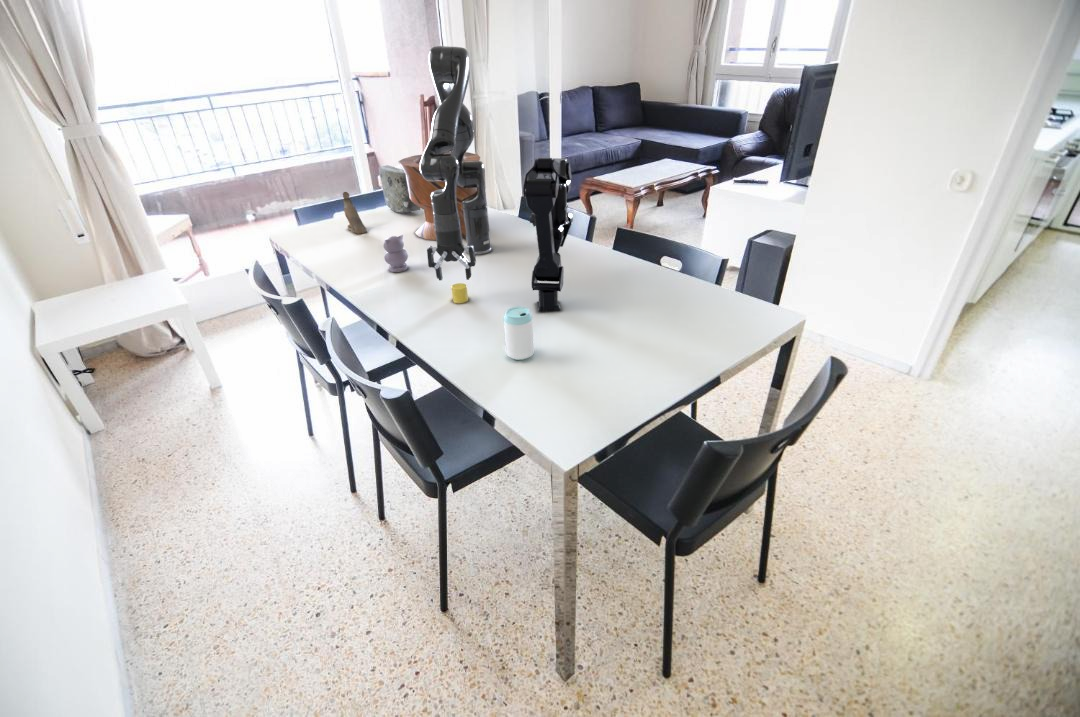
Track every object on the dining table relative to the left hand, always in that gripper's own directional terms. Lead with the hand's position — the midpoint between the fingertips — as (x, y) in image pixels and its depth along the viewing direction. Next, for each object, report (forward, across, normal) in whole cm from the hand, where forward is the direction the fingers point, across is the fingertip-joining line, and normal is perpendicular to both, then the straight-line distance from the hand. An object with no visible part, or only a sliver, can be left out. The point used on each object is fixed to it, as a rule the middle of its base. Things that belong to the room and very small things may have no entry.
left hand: (454, 279), depth 153 cm
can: (+7, -22, +35) cm, 42 cm away
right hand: (-4, -32, -12) cm, 34 cm away
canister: (+7, -1, +1) cm, 7 cm away
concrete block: (+5, +47, -107) cm, 117 cm away
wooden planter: (+6, +16, -73) cm, 75 cm away
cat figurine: (+6, +26, -27) cm, 38 cm away
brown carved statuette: (+6, +59, -75) cm, 96 cm away
